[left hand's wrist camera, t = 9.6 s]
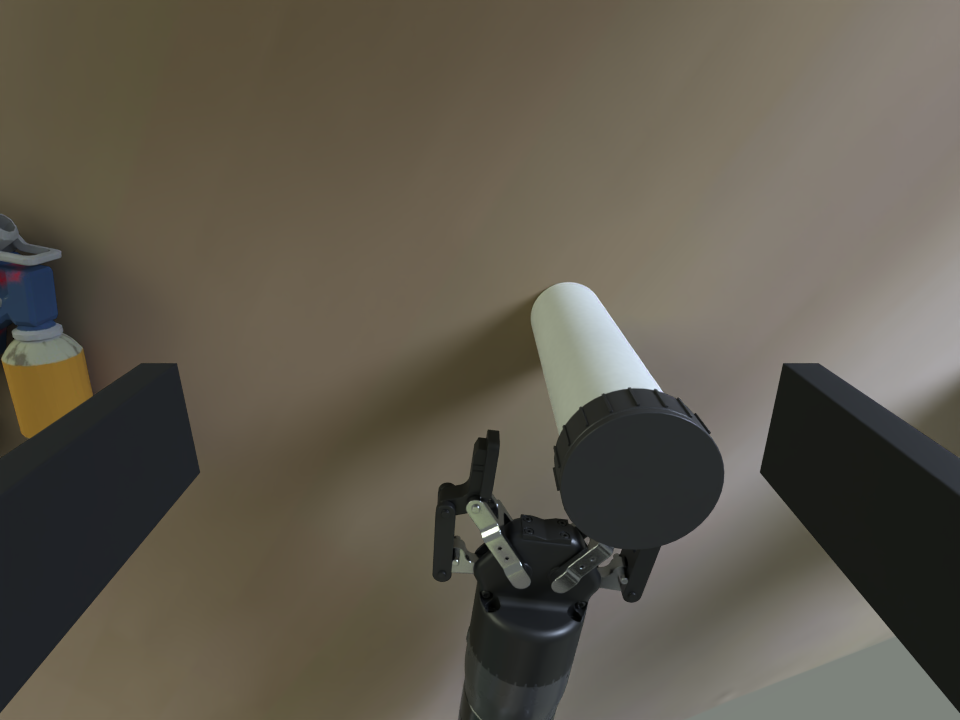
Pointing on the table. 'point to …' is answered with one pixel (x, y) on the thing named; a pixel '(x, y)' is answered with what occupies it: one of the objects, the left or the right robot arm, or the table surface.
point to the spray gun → (36, 337)
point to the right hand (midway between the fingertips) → (563, 444)
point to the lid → (637, 469)
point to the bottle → (582, 350)
